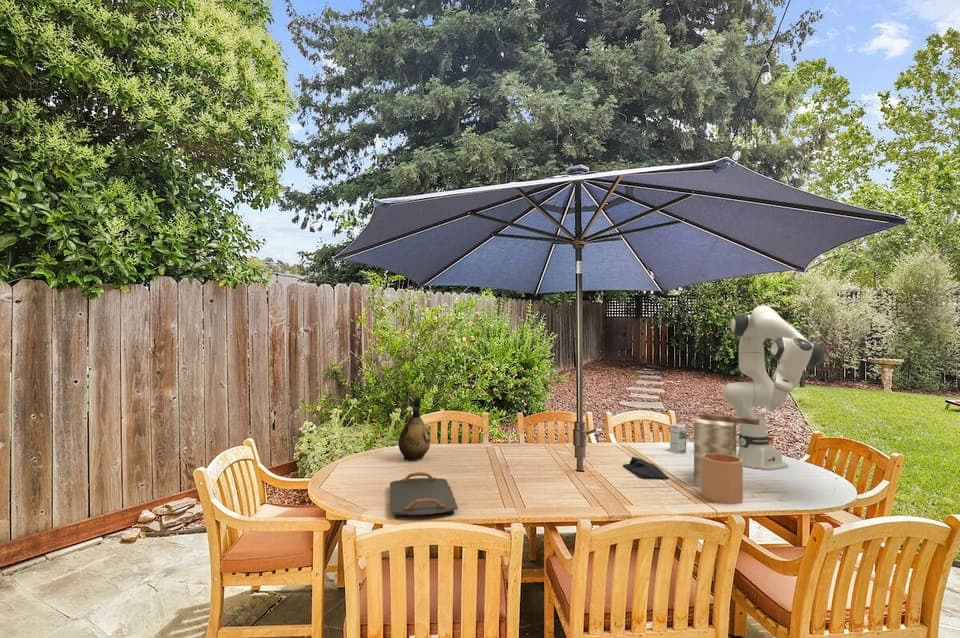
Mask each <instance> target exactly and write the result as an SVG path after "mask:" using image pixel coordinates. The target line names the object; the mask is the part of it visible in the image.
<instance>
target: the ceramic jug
mask: <svg viewBox="0 0 960 638" xmlns="http://www.w3.org/2000/svg"><path fill="white" fill-rule="evenodd" d="M414 398H415V399H414V400H413V401H411V402H410V408H411V409H413V410H412V414H411V417H410V418H409V419H408V421H407V422H406V424H405V425H404V426H403V427H402V430H401V432H400V434H399V438H398V450H399V451H400V453H401V454H402V455H403V460H404V459H405V460H404V461H407V460H408V461H407V462H418V461H417V460H420V461H422V460H423V459H424V456H425V455H426V454H427V453H428V451H429V450H430V446H431V435H430V433H429V430H428V428H427V426H426V423H425V422H424V421H423V419H422V418H421V416H420V415H421V414H420V411H421V410H420V409H421V401H422V397H421V396H418V395H417V396H416V397H414ZM422 458H423V459H422ZM421 459H422V460H421Z"/></svg>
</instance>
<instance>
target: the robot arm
mask: <svg viewBox="0 0 960 638" xmlns="http://www.w3.org/2000/svg"><path fill="white" fill-rule="evenodd" d="M750 313H751V314H745V313H743V314H738V315H735V316H734V317H733V318H732V319H731V322H730V329H731V330H730V331H731V333H732V334H733V335H734V336H737V337H740V339H739V344H738V369H739V371H740V372H741V373H742V374H743V375H745V376H746V377H749V378H751V379H752V380H753V382H741V381H740V382H738V381H735V382H729V383H727V384H726V385H725V386H724V388H723V390H722V396H723V398H724V400H725V402H727V403H728V404H729V405H730V406H731V407H733V409H734V410H735V412H736V413H737V417H747V418H758V419H759V425H753V424H742V423H739V433H738V442H739V447H738V454H737V457H739V458H742V459H743V467H747V468H751V469H752V468H753V469H761V470H765V471H769V470H775V469H781V468H787V467H789V464H788V463H786V462H785V461H783V456H782V454H781V453H782V452H780V451H779V450H778V449H777V448H775V447H774V446H773V445H772V444H770V442H774V441H775V438H774V437H773V436H771V435H770V436H767V420H766V419H765V417H764V416H763V415H761V414H760V413H758V412H755V411H754V410H753V409H752V407H767V408H768V412H770V413H774V412H775V409H777V408H780V407H781V405H782V404H783V403H784V402H785V400H786V399H787V397H788V395H789V394H790V393H792V392H793V390H794V389H795V388H796V387H798V384H799V383H800V380H801V378H802V376H803V372H804V370H805V369H807V368H808V369H812V368H816V367H817V366H819V365H820V364H822V362H823V361H824V358H825V353H824V352H825V351H824V350H823V347H822V346H821V345H820V344H819V343H814V342H812V341H811V340H810V339H809V338H808V337H807V336H806V335H804V334H803V333H802V332H801V331H800V330H799V329H797V328H796V327H794V326H793V325H791V324H790V323H788V322H787V321H786V320H785V319H783V317H781V316H780V314H779V313H778V312H777V311H776V310H774V309H773V308H772V307H770V306H768V305H758V306H755V308H753V310H752V311H751V312H750ZM765 340H766V341H768V342H771V341H772V340H773V341H772V343H771V345H770V348H769V353H770V355H771V356H772V357H773V359H774V360H775V361H778V362H779V364H778V365H777V366H776V368H775V371H774V372H773V375H772V379H773V380H772V379H771V377H770V376H769V374H768V372H767V368H766V360H765V349H764V347H765V346H764V341H765Z"/></svg>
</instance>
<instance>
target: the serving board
mask: <svg viewBox="0 0 960 638" xmlns="http://www.w3.org/2000/svg"><path fill="white" fill-rule="evenodd" d="M419 476H420V477H419ZM412 477H413V478H412ZM389 488H390V489H389V492H390V493H389V494H390V512H391V514H394V515H395V519H398V520H399V519H402V516H403V515H410V516H416V515H419V516H420V515H423V516H425V515H434V514H441V513H442V514H443V513H446V512H447V514H448V515H449V516H454V515H455V511H456V510H458V509H459V508H458V504H457V502H456V498H455V497H454V495H453V494H454V493H453V491H452V490H451V486H450V484H449V483H448V480H447V479H446V478H437V477H435V476H434V477H433V476H432V475H431V474H430V473H428V472H423V471H422V472H421V471H420V472H412V473H409V474H407V476H405V477H404V478H401V479H399V480H394V481H391V482H390V483H389Z"/></svg>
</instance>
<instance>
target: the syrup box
mask: <svg viewBox="0 0 960 638" xmlns="http://www.w3.org/2000/svg"><path fill="white" fill-rule="evenodd" d="M670 451H671V453H673V452H674V453H673V454H677V453H678V455H679V453H681V454H685V453H687V426H686V425H685V424H683V423H673V424H672V423H671V424H669V452H670Z"/></svg>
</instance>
